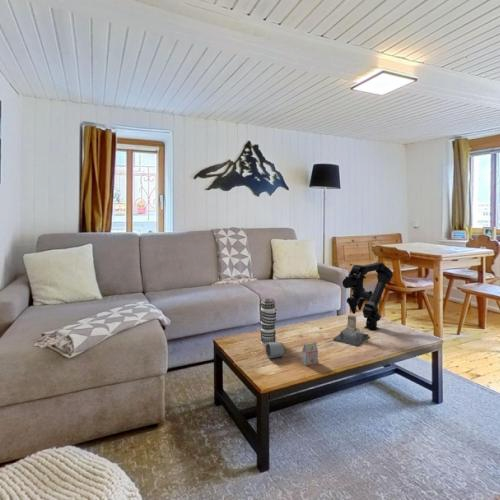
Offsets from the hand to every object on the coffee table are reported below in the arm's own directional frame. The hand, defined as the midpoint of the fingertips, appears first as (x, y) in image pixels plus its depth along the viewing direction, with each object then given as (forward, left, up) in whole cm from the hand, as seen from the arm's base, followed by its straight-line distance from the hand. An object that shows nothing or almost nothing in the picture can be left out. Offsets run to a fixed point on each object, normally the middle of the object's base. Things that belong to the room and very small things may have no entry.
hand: (356, 311), depth 197 cm
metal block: (+9, +4, -12) cm, 16 cm away
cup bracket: (+9, +4, -13) cm, 16 cm away
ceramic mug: (+60, -2, -13) cm, 62 cm away
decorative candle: (+53, -17, -13) cm, 57 cm away
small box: (+50, +14, -13) cm, 54 cm away
